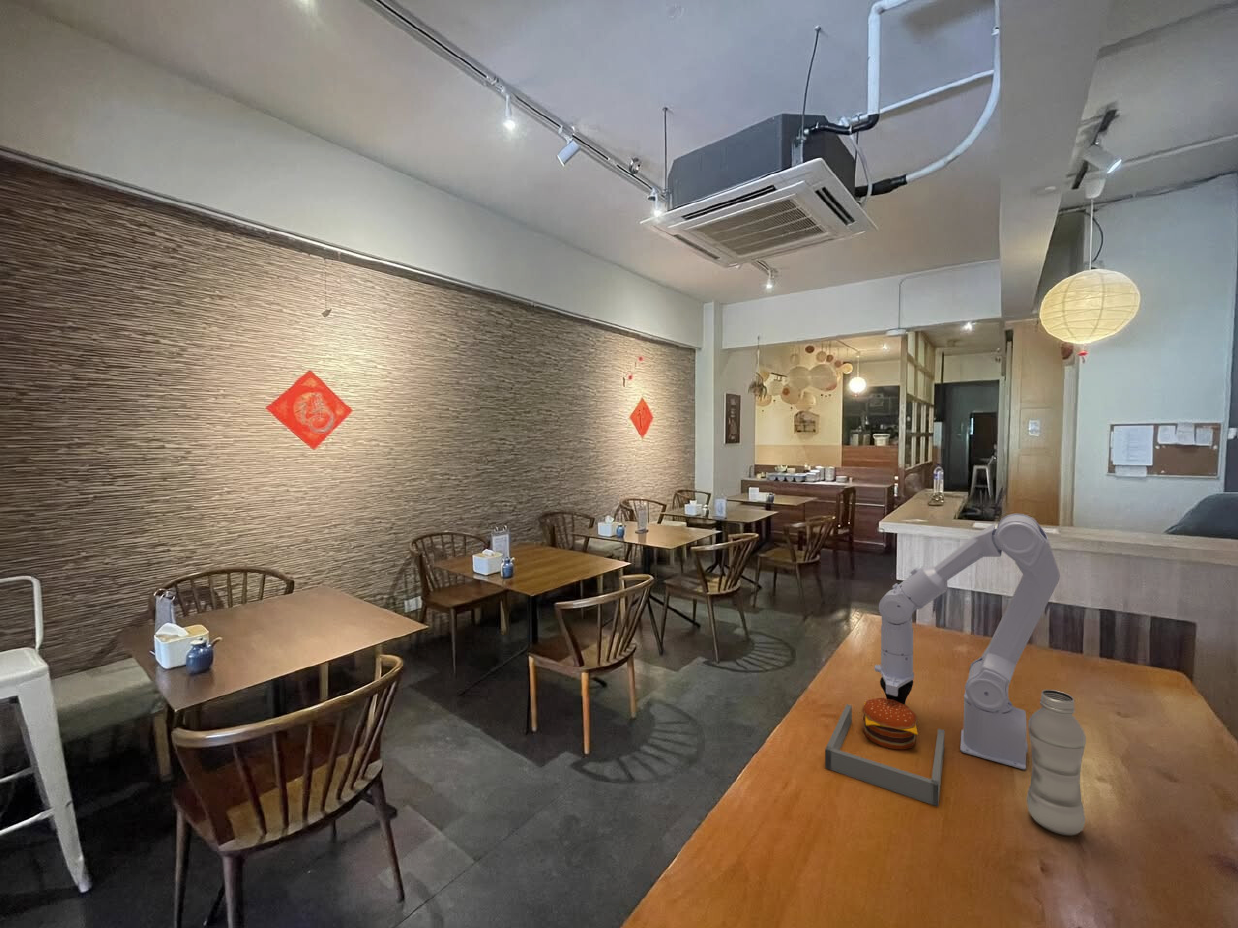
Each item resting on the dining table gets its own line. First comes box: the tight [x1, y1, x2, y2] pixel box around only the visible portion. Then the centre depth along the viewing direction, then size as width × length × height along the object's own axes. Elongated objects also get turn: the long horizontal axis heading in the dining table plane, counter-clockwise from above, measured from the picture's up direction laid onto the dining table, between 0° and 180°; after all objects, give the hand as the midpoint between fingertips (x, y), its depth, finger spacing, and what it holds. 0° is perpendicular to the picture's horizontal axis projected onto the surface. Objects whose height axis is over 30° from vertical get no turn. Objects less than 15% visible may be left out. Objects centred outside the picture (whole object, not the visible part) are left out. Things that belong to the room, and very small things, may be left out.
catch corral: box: [824, 703, 945, 807], centre depth 92 cm, size 17×18×4 cm
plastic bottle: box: [1026, 689, 1087, 837], centre depth 75 cm, size 6×7×20 cm
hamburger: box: [861, 697, 919, 751], centre depth 99 cm, size 9×10×7 cm
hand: (896, 714), depth 104 cm, fingers closed
